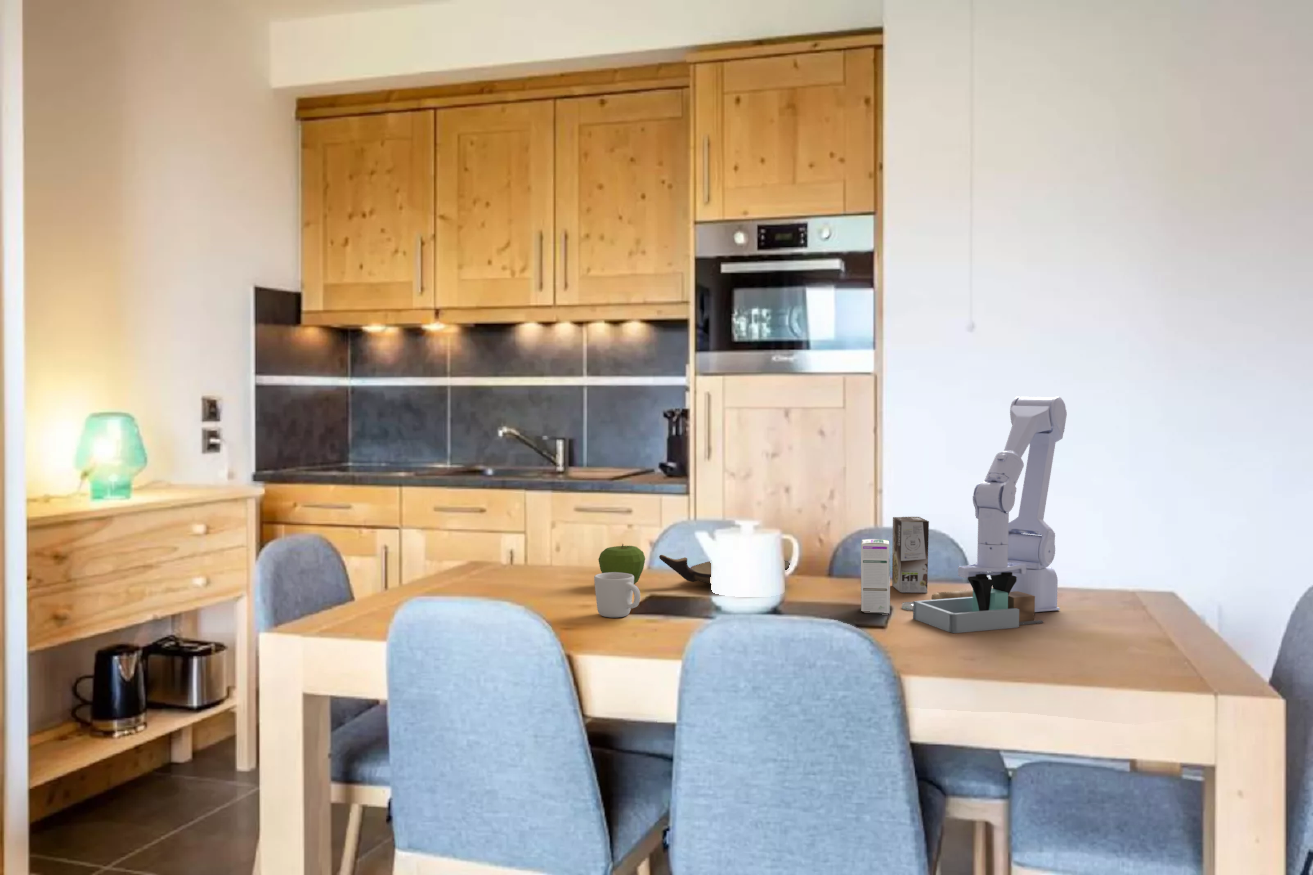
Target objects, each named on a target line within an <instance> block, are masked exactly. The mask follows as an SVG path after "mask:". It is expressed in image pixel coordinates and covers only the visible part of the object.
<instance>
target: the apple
mask: <svg viewBox="0 0 1313 875" xmlns="http://www.w3.org/2000/svg"><path fill="white" fill-rule="evenodd" d="M597 560H598V565H599V569H600V572H601V573H611V572H618V573H628V574H632V575H633V576H634V585H636V584H637V582H639V579H640V577H641V576H642V573H643V570H644V567H645V562H646V557H645V554H644V552H643V550H641V549H640V548H639V547H637V546H634V545H624V543H622V544H621V545H615V546H610V547H607V548H605V549H604V550H603V551H601V552H600V554H599V557H598V559H597Z"/></svg>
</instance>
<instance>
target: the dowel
mask: <svg viewBox="0 0 1313 875" xmlns="http://www.w3.org/2000/svg"><path fill="white" fill-rule="evenodd" d="M962 597H973V589H968V590H967V589H965V590H953V591H944V592H943V591H940V592H939V591H937V592H933V594H932V595H931V599H930V600H936V599H949V598H962Z"/></svg>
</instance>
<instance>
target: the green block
mask: <svg viewBox="0 0 1313 875" xmlns="http://www.w3.org/2000/svg"><path fill="white" fill-rule="evenodd" d="M972 590H973V589H972ZM1000 609H1008V593H1007V592H1003V591H1000V590H996V589H993V587H992V589H991V594H990V606H989V610H1000ZM975 611H979V607H978V603H977V599H976V596H975V593H974V590H973V607H972V612H975Z"/></svg>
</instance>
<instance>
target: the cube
mask: <svg viewBox="0 0 1313 875" xmlns="http://www.w3.org/2000/svg"><path fill="white" fill-rule="evenodd" d="M1012 608H1017V609H1019V622H1024V621H1035V614H1036V612H1035V596H1033V595H1030V594H1026V593H1023V592H1019V591H1015V592H1010V593H1009V595H1008V609H1012Z"/></svg>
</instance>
